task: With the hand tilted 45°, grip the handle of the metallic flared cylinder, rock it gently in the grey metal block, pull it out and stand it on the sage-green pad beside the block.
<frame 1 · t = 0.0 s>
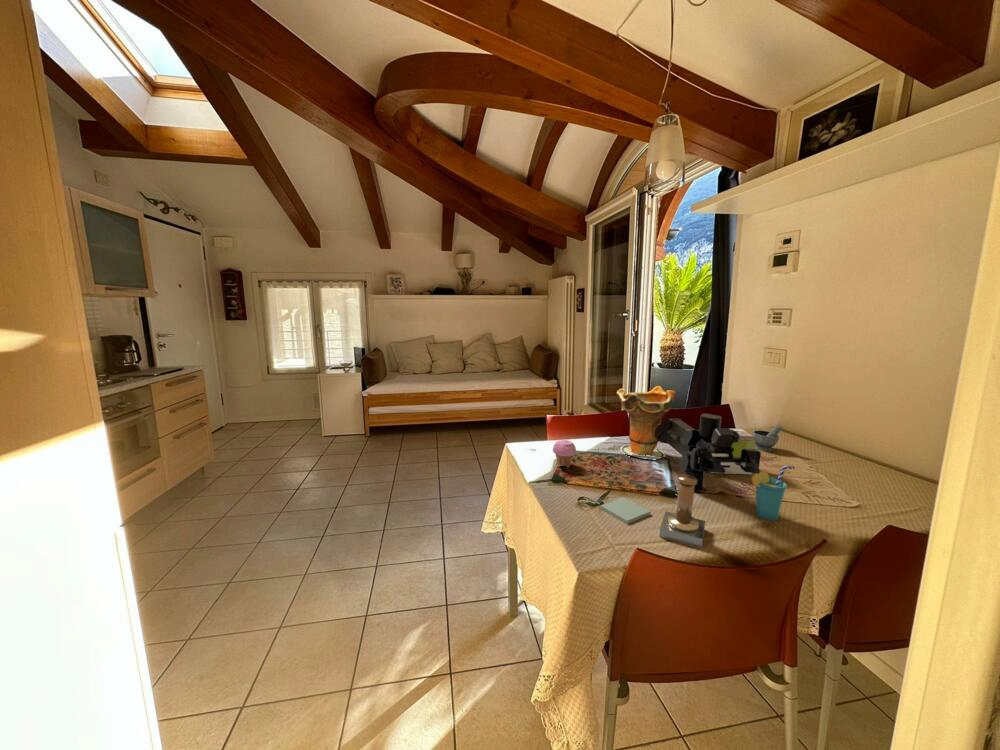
hand: (741, 471, 108), 17 cm above the table, tool horizontal, fingers open, 9 cm apart
metallic flared cylinder: (682, 533, 107), resting on bore block
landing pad: (624, 513, 118), on the table
cupcake: (563, 466, 153), on the table
cup: (768, 516, 118), on the table
decorative vase: (642, 452, 167), on the table
bore block: (682, 534, 107), on the table
mortar and pestle: (765, 449, 172), on the table
tea box: (724, 469, 151), on the table
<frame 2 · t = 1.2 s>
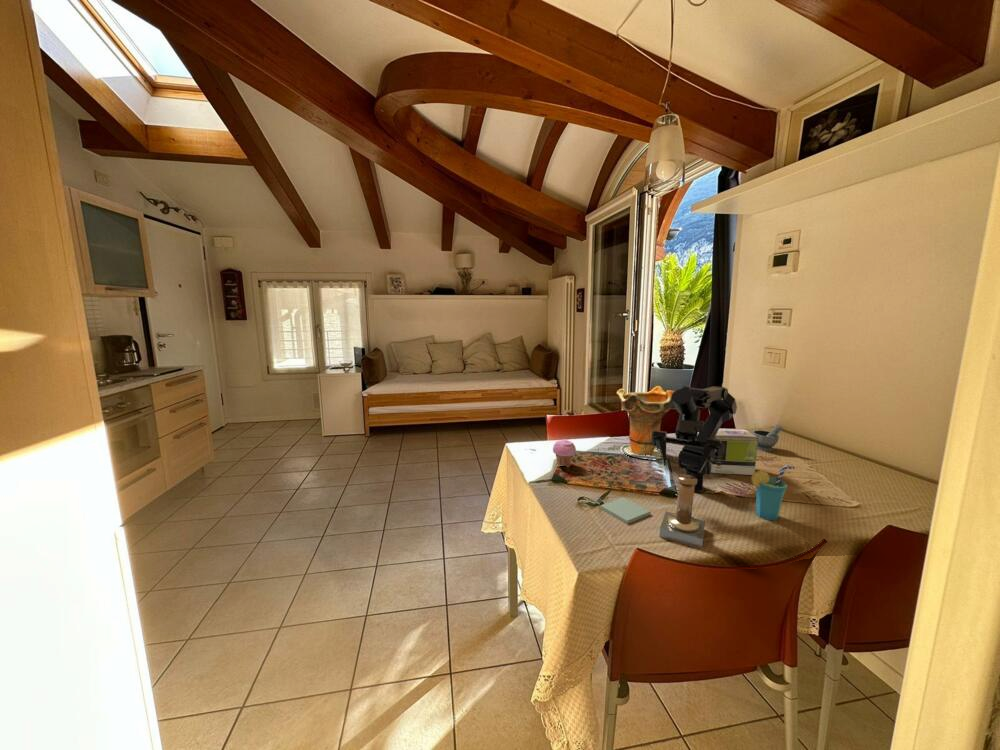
hand: (681, 468, 116), 14 cm above the table, tool tilted 45°, fingers open, 9 cm apart
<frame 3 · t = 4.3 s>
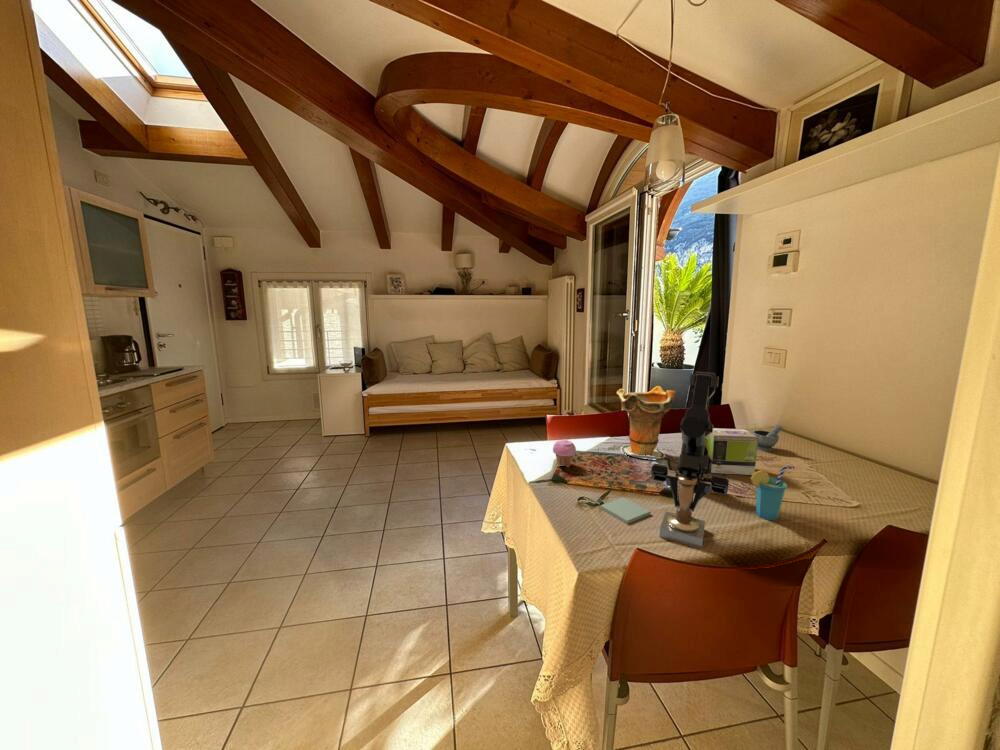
hand: (684, 508, 105), 8 cm above the table, tool tilted 45°, fingers closed on metallic flared cylinder, 4 cm apart
metallic flared cylinder: (682, 533, 107), point 1 cm above the table, touching bore block, gripper
everything else where it was.
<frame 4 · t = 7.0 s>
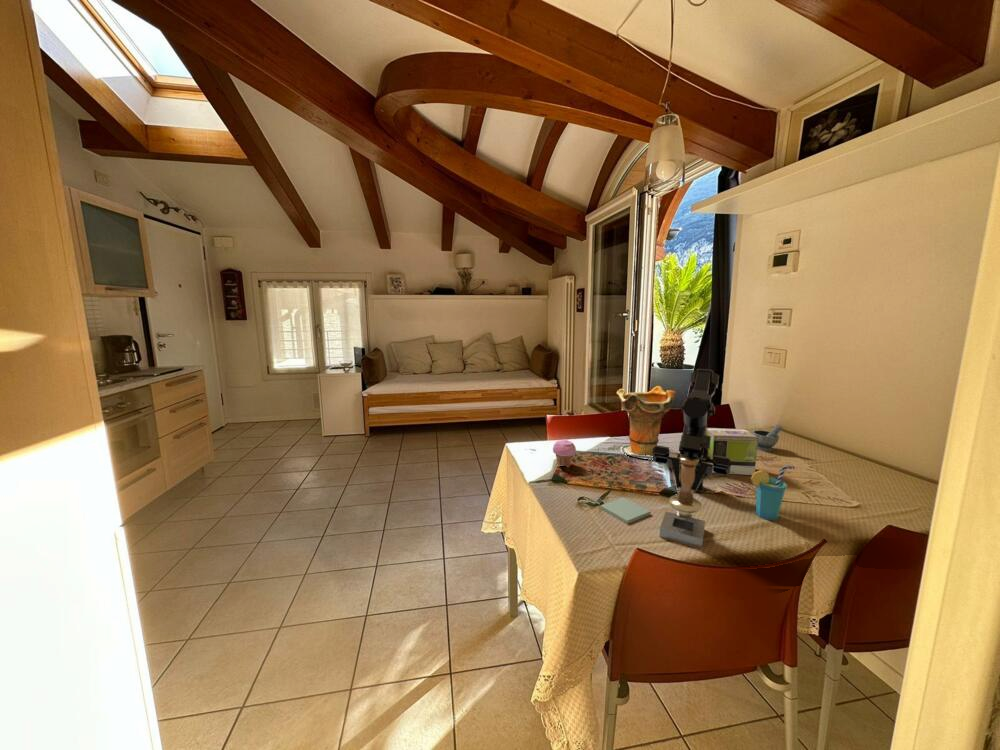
hand: (686, 489, 104), 13 cm above the table, tool tilted 45°, fingers closed on metallic flared cylinder, 4 cm apart
metallic flared cylinder: (683, 514, 106), point 6 cm above the table, touching gripper
everything else where it was.
when the fingers open (10 cm above the table, at t = 9.4 s): metallic flared cylinder stays where it is, resting on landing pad.
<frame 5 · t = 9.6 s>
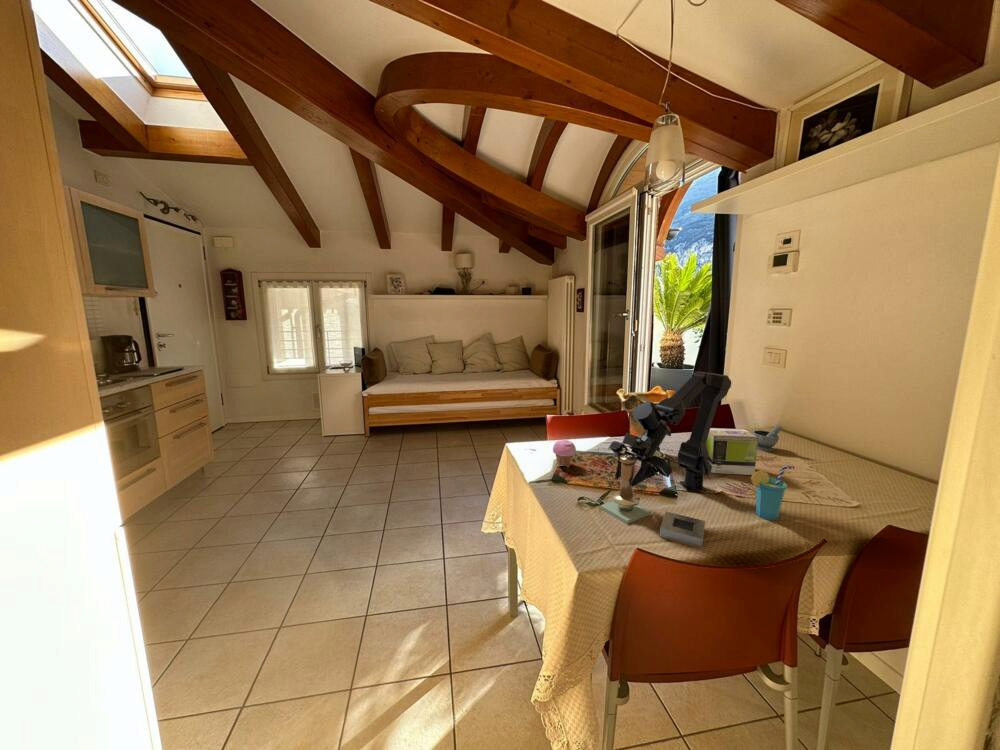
hand: (623, 481, 116), 10 cm above the table, tool tilted 45°, fingers open, 5 cm apart
metallic flared cylinder: (625, 508, 118), point 2 cm above the table, touching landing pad
everything else where it was.
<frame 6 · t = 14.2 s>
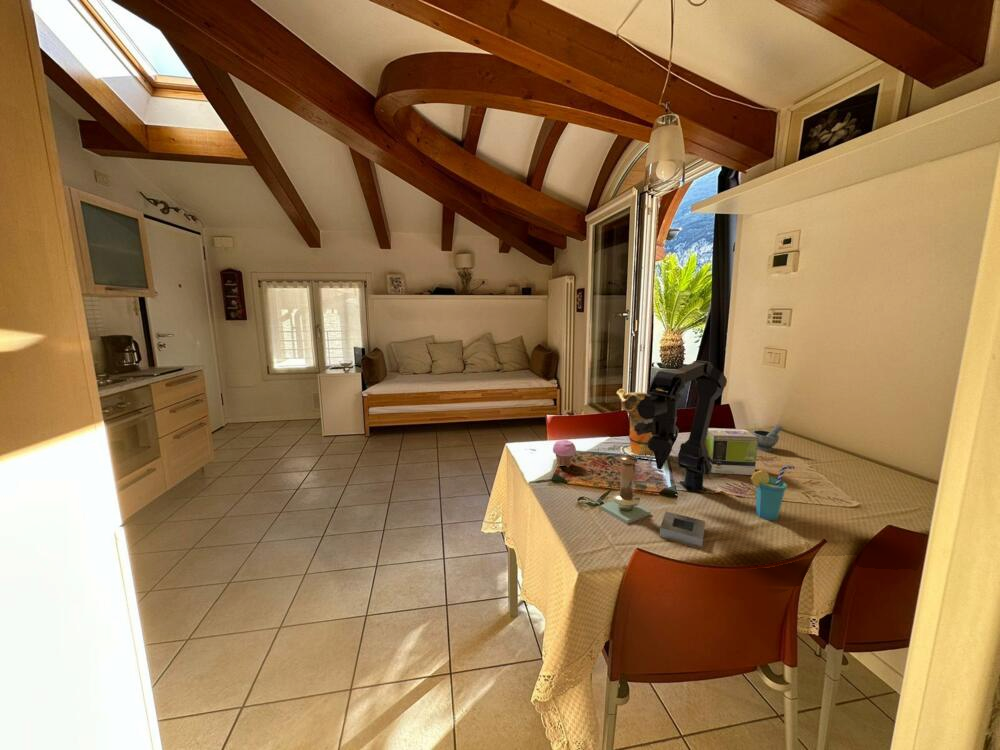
hand: (661, 463, 122), 13 cm above the table, tool pointing down, fingers open, 9 cm apart
nothing on the table moved.
at the end: metallic flared cylinder inside the target area on the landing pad (0.1 cm from its centre), point 1.5 cm above the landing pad's base; metallic flared cylinder tilted 1°; the gripper is holding nothing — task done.
